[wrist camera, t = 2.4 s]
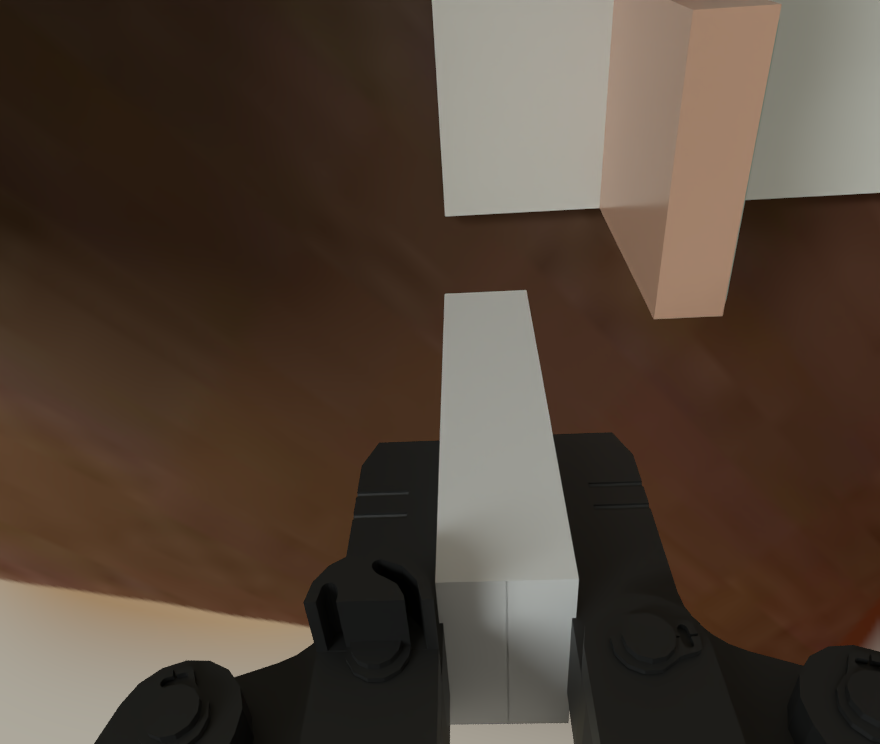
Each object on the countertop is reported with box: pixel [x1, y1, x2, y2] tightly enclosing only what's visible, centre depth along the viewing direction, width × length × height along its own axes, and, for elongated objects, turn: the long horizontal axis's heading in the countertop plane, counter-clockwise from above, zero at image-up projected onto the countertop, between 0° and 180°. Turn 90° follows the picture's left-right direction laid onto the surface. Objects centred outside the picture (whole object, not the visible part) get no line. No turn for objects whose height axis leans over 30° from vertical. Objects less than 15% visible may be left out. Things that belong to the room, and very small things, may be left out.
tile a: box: [599, 0, 782, 319], centre depth 24 cm, size 2×9×10 cm, turn 4°
